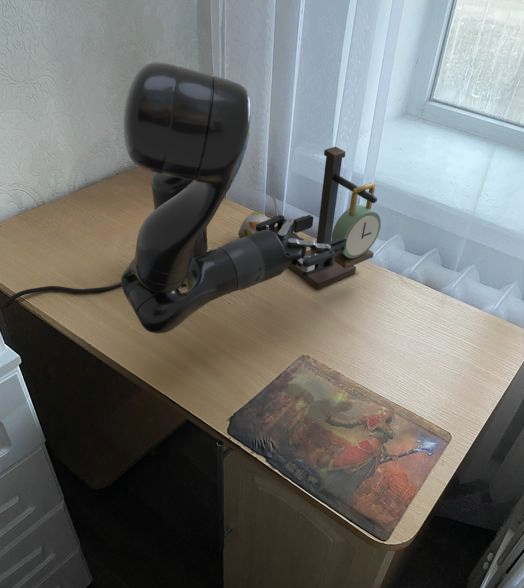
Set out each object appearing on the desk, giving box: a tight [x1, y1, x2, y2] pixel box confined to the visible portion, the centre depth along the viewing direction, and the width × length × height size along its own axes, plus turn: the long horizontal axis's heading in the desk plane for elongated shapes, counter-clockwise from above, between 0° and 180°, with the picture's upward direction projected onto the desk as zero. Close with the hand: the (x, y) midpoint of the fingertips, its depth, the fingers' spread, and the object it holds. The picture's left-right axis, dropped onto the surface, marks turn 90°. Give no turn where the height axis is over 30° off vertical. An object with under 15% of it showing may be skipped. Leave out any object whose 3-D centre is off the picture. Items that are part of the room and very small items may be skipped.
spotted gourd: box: [237, 211, 269, 239], centre depth 112 cm, size 8×10×10 cm
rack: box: [288, 146, 378, 290], centre depth 98 cm, size 16×10×24 cm, turn 36°
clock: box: [331, 182, 382, 269], centre depth 94 cm, size 9×4×14 cm, turn 126°
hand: (327, 231), depth 91 cm, fingers open, 8 cm apart
